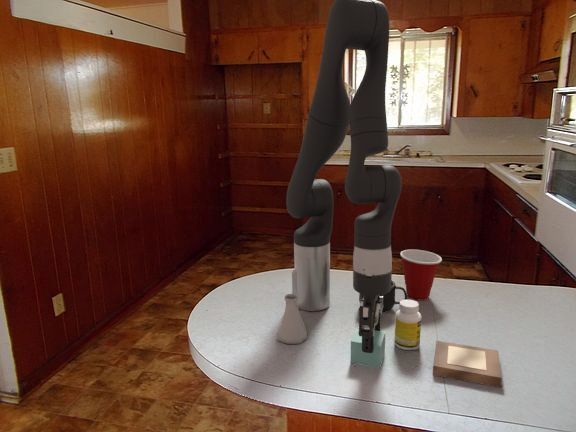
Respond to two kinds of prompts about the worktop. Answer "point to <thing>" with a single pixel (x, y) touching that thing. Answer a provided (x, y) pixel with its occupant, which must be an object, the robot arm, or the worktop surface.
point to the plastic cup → (419, 272)
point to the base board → (467, 363)
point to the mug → (389, 297)
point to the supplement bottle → (408, 325)
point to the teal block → (368, 358)
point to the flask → (291, 323)
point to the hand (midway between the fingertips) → (371, 341)
